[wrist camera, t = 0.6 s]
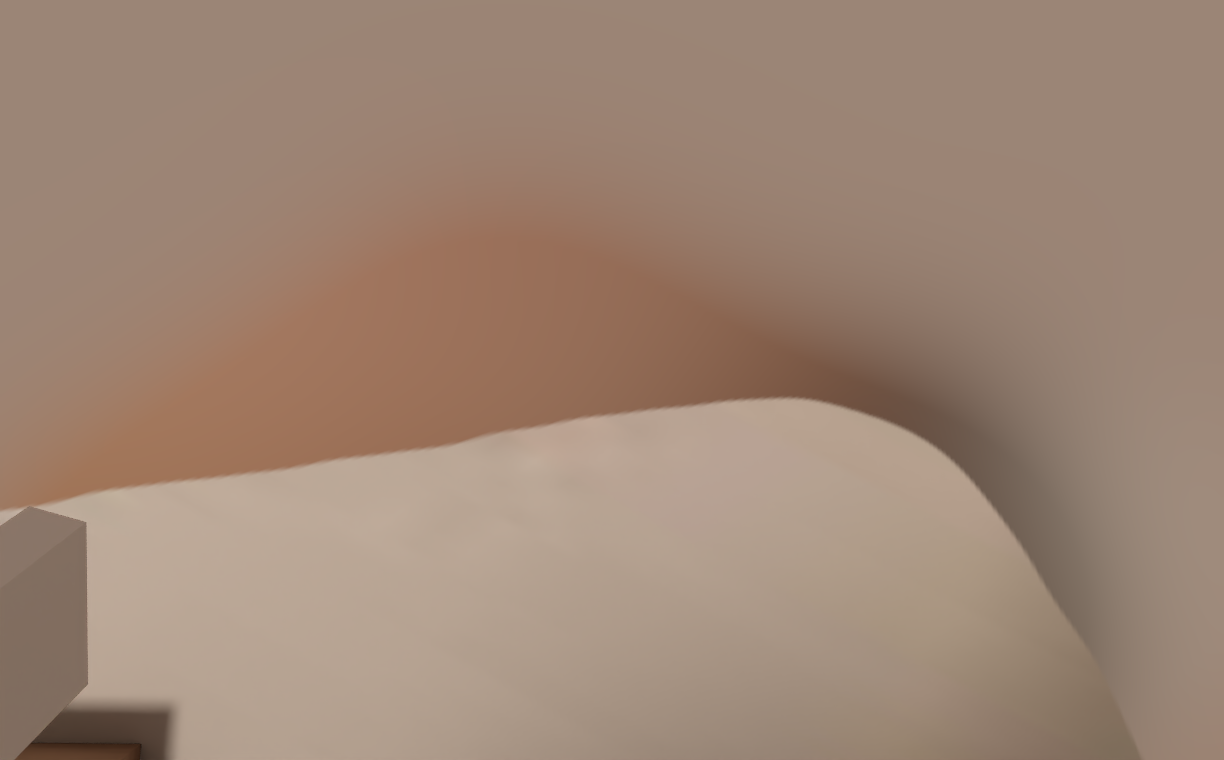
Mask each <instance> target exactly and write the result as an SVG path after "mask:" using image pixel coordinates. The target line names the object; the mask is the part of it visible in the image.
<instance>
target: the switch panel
mask: <svg viewBox="0 0 1224 760" xmlns="http://www.w3.org/2000/svg"><path fill="white" fill-rule="evenodd" d="M140 750H141V744H91V743H30V744H29V745H28V746H27V747H26V748H25V749H24V750H23V751H22V752H21V753H20V754H19V755H18V756H17V758H16V759H15V760H140Z"/></svg>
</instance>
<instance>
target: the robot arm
mask: <svg viewBox="0 0 1224 760" xmlns="http://www.w3.org/2000/svg"><path fill="white" fill-rule="evenodd" d="M87 684H88V649H87V547H86V522H84V521H80V520H76V519H73V518H69V517H66V516H62V515H58V514H55V513H51V512H48V511H44V510H40V509H37V508H33V507H30V506H29V507H27V508H26V509H25V510H23V511H22V512H20V513H19V514H17V515H16V516H14V517H13V518H11V519H10V520H8V521H7V522H6V523H4V524H3V525H1V526H0V760H15V759H16V758H17V756H18V755H19V754H20V753H21V752H22V751H23V750H24V749H25V748H26V747H27V746H28V745H29V744H30V743H31V742H32V741H33V740H34V739H35V738H36V737H37V736H38V735H39V734H40V733H41V732H42V731H43V730H44V729H45V728H46V727H47V726H48V725H49V724H50V723H51V722H52V720H53V719H54V718H55V717H56V716H57V715H58V714H59V713H60V712H61V711H62V710H63V709H64V708H65V707H66V706H67V705H68V704H69V703H70V702H71V701H72V700H73V699H74V698H75V697H76V696H77V695H78V694H79V693H80V692H81V691H82V690H83V689H84V688H85V687H86V686H87Z"/></svg>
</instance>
